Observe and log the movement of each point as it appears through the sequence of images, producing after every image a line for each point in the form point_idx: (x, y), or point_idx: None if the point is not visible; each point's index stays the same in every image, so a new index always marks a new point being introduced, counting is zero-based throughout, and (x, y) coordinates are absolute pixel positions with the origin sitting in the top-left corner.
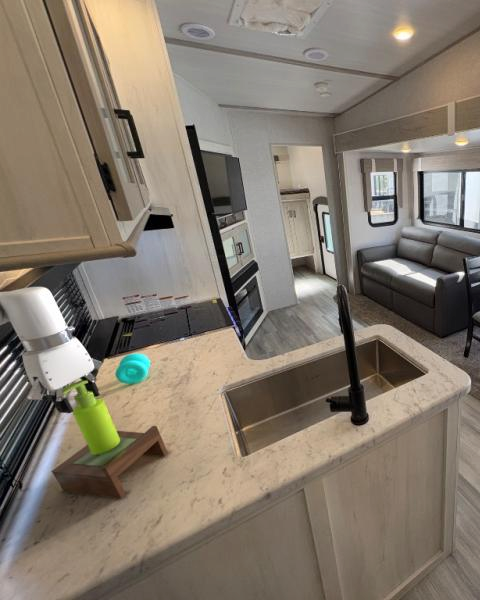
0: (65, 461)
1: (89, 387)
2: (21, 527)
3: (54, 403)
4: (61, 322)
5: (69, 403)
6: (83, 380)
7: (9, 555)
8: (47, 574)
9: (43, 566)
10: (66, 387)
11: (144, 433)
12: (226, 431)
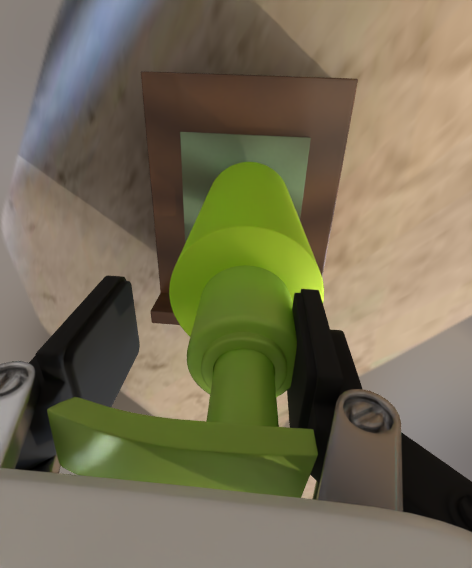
0: (185, 78)
1: (292, 412)
2: (66, 83)
3: (36, 364)
4: None
5: (113, 397)
6: (297, 481)
7: (25, 145)
8: (40, 267)
9: (44, 246)
10: (135, 454)
11: None
12: (371, 367)
